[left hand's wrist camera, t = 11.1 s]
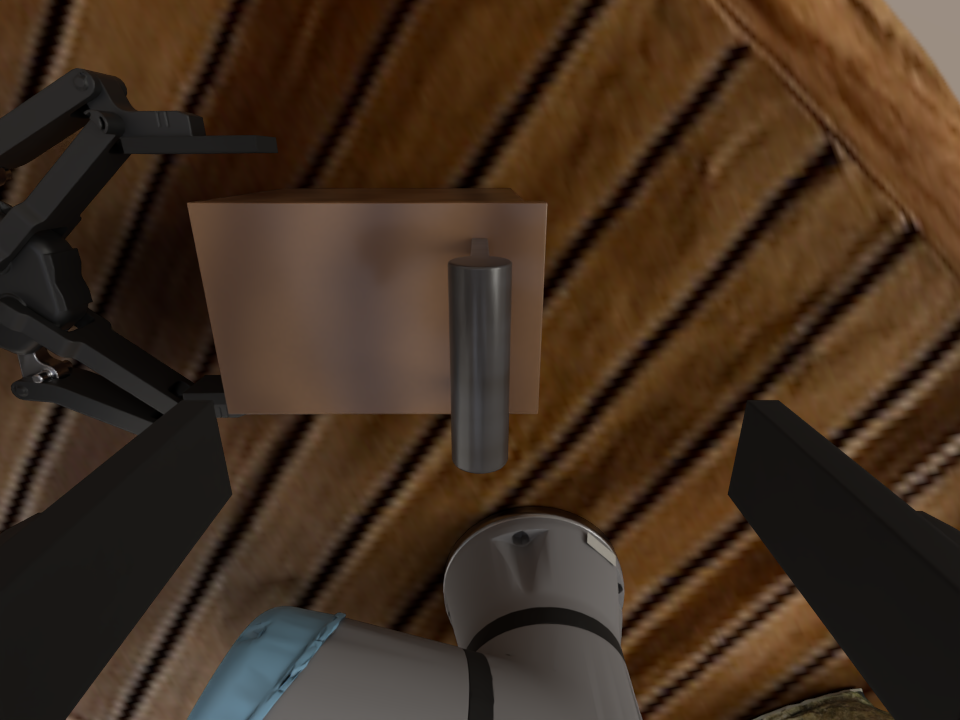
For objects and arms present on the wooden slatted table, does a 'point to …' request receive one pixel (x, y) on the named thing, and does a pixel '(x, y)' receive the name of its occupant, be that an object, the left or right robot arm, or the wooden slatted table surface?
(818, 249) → the wooden slatted table surface
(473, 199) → the chest
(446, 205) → the lid
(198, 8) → the wooden slatted table surface
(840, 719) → the fossil
